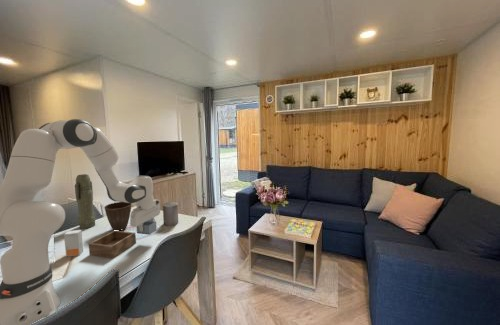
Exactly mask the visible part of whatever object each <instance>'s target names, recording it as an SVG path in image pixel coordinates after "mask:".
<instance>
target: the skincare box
mask: <svg viewBox="0 0 500 325" xmlns="http://www.w3.org/2000/svg"><path fill="white" fill-rule="evenodd" d="M82 230H83V229H75V230H68V231H66V232H65V233H64V234H63V238H64V248H65V256H68V257H75V256H81V255H82V254H83V253H84V243H83V233H82Z"/></svg>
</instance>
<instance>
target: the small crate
mask: <svg viewBox="0 0 500 325" xmlns="http://www.w3.org/2000/svg"><path fill="white" fill-rule="evenodd" d="M142 227H144V231H140V228H139V227H138V226H137V227H136V234H141V235H147V236H148V235H149V236H150V235H151V234H153V233H154V232H156V231H157V221H155V222H153V221H146V222H144V223H143V225H142Z"/></svg>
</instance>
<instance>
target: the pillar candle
mask: <svg viewBox="0 0 500 325" xmlns="http://www.w3.org/2000/svg"><path fill="white" fill-rule="evenodd" d="M178 206H179V204H178V202H176V201H170V202H169V201H168V202H164V203H163V204H162V213H163V225H164V226H167V227H168V226H169V227H170V226H175V225H177V224H178V223H179V210H178V209H179V208H178Z"/></svg>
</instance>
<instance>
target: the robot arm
mask: <svg viewBox="0 0 500 325" xmlns="http://www.w3.org/2000/svg"><path fill="white" fill-rule="evenodd" d="M76 148H80V149H81V150H82V151H83V152H84V155H86V157H87V158H88V160H89V161H90V163H91V164H92V165H93V167H94V170H95V171H96V173H97V175H98V176H99V178H100V179H101V181H102V183H103V184H104V186H105V188H106V194H107V196H108V198H109V199H110V200H111V201H113V202H126V203H131V204H134V203H135V204H136V205H135V206H136V207H135V208H133V209H132V210H131V212H130V217H129V224H130V226H131V227H133V228H134V227H136V228H137V226H138V227H139V228H140V231H144V227H142V225H143V223H144V222H146V221H148V220H150V221H154V219H155V217H157V216H160V214H161V205H160V203H161V200H160V199H155V198H154V194H153V193H154V184H153V179H152V177H151V176H149V175H137V176H135V178H134V179H133V180H132V181H130V182H129V183H124V182H122V181H120V180H119V179H118V177H117V175H116V174H115V172H114V170H113V167H114V166H115V165H116V164H117V162H118V160H119V154H118V151H117V150H116V147H115V145H113V143H112V142H111V140H110V139H109V138H108V137H107V135H106V134H105V133H104V132H103V131H102V130H101V129H100V128H98V127H96V126H93V125H92V124H91V123H89V121H86V120H84V119H77V118H73V119H66V120H61V119H60V120H57V121H53V122H52V121H51V122H47V123H45V124H43V125H41V126H40V127H39V128H28V129H25V130H23V131H21V133H20V134H19V136H18V137H17V139H16V141H15V144H14V145H13V148H12V150H11V152H10V157H9V161H8V165H7V168H6V172H5V176H4V178H3V180H2V182H1V184H0V237H1V236H2V237H6V236H7V237H8V236H9V237H12V245H11V248H9V249H7V250H6V251H5V252H4V253H3V254H2V255H1V257H0V271H1V277H2V280H1V282H0V325H30V324H32V323H34V322H36V321H38V320H40V319H42V318H45V317H47V316H49V315H50V314H52V313H54V312H56V313H57V310H58V307H59V306H60V303H61V299H60V297H59V296H58V295H57V294H58V293H57V292H56V290H55V287H54V283H53V269H52V265H50V257H49V245H50V241H51V239H52V236H53V234H54V233H56V232H57V231H58V230H59V229H60V228H61V227H62V226H63V224H64V223H65V221H66V220H65V219H66V212H65V211H66V210H65V208H64V207H63V206H62V205H60V204H58V203H54V202H51V201H44V200H34V198H35V197H36V195H38V193H39V192H40V191H41V190H43V189H46V188H47V187H49V185H50V184H51V182H52V177H53V172H54V167H55V164H56V156H57V153H58V151H60V150H61V149H65V150H70V149H76Z"/></svg>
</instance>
